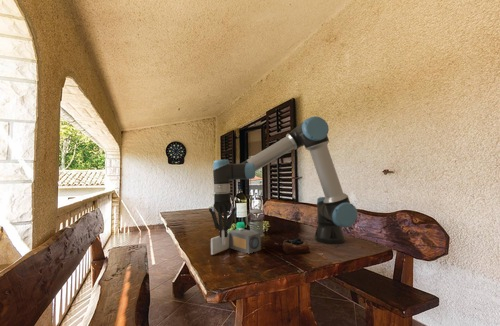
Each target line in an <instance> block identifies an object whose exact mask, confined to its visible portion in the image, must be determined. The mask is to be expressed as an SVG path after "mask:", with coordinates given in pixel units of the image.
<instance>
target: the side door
mask: <svg viewBox="0 0 500 326" xmlns="http://www.w3.org/2000/svg"><path fill="white" fill-rule="evenodd" d="M209 243H210V248H209V249H210V255H216V254H218V253H220V252H224V251H225V250H228V249H231V248H230V233H229V232H228V236H227V237H226V244H225V245H222V237H220V235H218V236H214V237H212V238H210V242H209Z"/></svg>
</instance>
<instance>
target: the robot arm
mask: <svg viewBox="0 0 500 326" xmlns="http://www.w3.org/2000/svg"><path fill="white" fill-rule="evenodd" d="M329 130H330V129H329V124H328V122H327V121H326V120H325V119H324V118H322V117H320V116H310V117H308V118H306V119H304V120H303V122H301V123H299V124H298V125H297V126H296V127H295V128H294V129H292V130H291V131H290V132H288V133H287V134H286V135H285V137H283V138H282V139H280V140H277V142H275V143H273V144H271V145H270V146H268V147H266V148H265V149H262V151H260V152H258V153H256V154H255V155H253V156H251V157H249V158H248V159H246V160H245V161H243V162H241V163H240V162H239V163H230V159H215V160H214V161H213V167H212V173H213V193H214V194H213V195H214V196H213V197H214V198H213V200H214V201H213V202H214V203H213V206H211V207H210V208H209V209H208V211H209V212H210V214H211V217H212V221H213V225H214V228H215V229H216V230H218V231H219V236H220V237H222V245H225V244H226V237H227V236H228V233H229V230H230V229H231V228H232V225H233V222H234V216H235V213H236V211H237V207H235V206H233V204H232V202H231V201H232V200H231V199H232V198H231V193H230V192H231V180H232V181H233V180H252V179H253V180H254V179H255V178H256V172H257V171H259V170H260V169H262V168H263V167H266V166H267V165H269V164H270V163H272V162H274V161H275V160H278V159H279V158H280V157H282V156H284V155H286V154H288V153H289V152H291V151H292V150H297V149H299V148H301V147H303V146H304V148H305V150H306V151H309V153H310V156H311V159H312V162H313V165H314V168H315V172H316V174H317V178H318V179H319V182H320V186H321V189H322V192H323V195H324V196H321V197H317V200H316V209H317V227H316V230H315V233H314V240H315V241H316V242H318V243H323V244H330V245H332V244H333V245H335V244H336V245H337V244H343V243H344V242H345V235H344V232H343V229H342V228H349V227H351V226H352V225H354V224H355V222H356V220H357V218H358V210H357V208H356V206H355V205H354V204H353V203H351V201H350V197H349V195H348V194H347V193H344V192H343V188H342V186H341V183H340V179H339V176H338V174H337V170H336V168H335V164H334V163H333V158H332V156H331V153H330V149H329V147H328V144H329V142H330V140H329V136H328V133H329V132H330V131H329ZM215 211H216V212H217V214H216V212H215ZM229 211H231V212H230V216H229V219H228V213H229ZM217 215H218V217H217ZM228 220H229V221H228Z"/></svg>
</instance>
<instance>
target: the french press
mask: <svg viewBox="0 0 500 326" xmlns="http://www.w3.org/2000/svg"><path fill="white" fill-rule="evenodd" d="M253 195H254V196H257V195H258V192H254V193H253ZM262 213H264V212H263V210H262V209H259V208H253V209H251V210H249V215H252V214H262ZM245 218H246V220H245V222H246V224H248V226H249V231H254V232H259V233H261V238H262V237H265V235H266V234H265V233H264V226H263V225H264V221H263V217H257V216H254V217H251V218H250V221H249V219H248V218H249V216H248V215H246V216H245ZM248 222H249V223H248Z"/></svg>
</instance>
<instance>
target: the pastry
mask: <svg viewBox="0 0 500 326" xmlns="http://www.w3.org/2000/svg"><path fill="white" fill-rule="evenodd" d="M281 248H282V250H283V252H284V253H285V254H287V255H304V254H309V253H310V246H309V245H308V242H306V241H304V239H302V238H294V239H284V241H283V243H282V247H281Z"/></svg>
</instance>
